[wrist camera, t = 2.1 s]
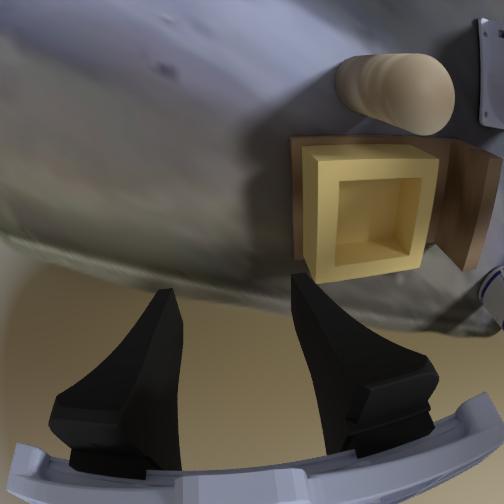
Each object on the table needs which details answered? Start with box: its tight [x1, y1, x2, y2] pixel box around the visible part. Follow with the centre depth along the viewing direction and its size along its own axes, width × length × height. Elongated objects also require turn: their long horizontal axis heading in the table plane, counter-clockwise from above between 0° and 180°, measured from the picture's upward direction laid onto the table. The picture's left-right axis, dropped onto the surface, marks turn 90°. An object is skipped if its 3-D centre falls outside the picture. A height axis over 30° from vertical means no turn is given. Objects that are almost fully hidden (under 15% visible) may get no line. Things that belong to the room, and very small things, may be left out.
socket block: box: [302, 144, 439, 284], centre depth 19 cm, size 8×8×4 cm
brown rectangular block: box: [290, 135, 503, 272], centre depth 19 cm, size 9×14×5 cm, turn 94°
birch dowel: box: [334, 54, 455, 136], centre depth 14 cm, size 4×4×7 cm
